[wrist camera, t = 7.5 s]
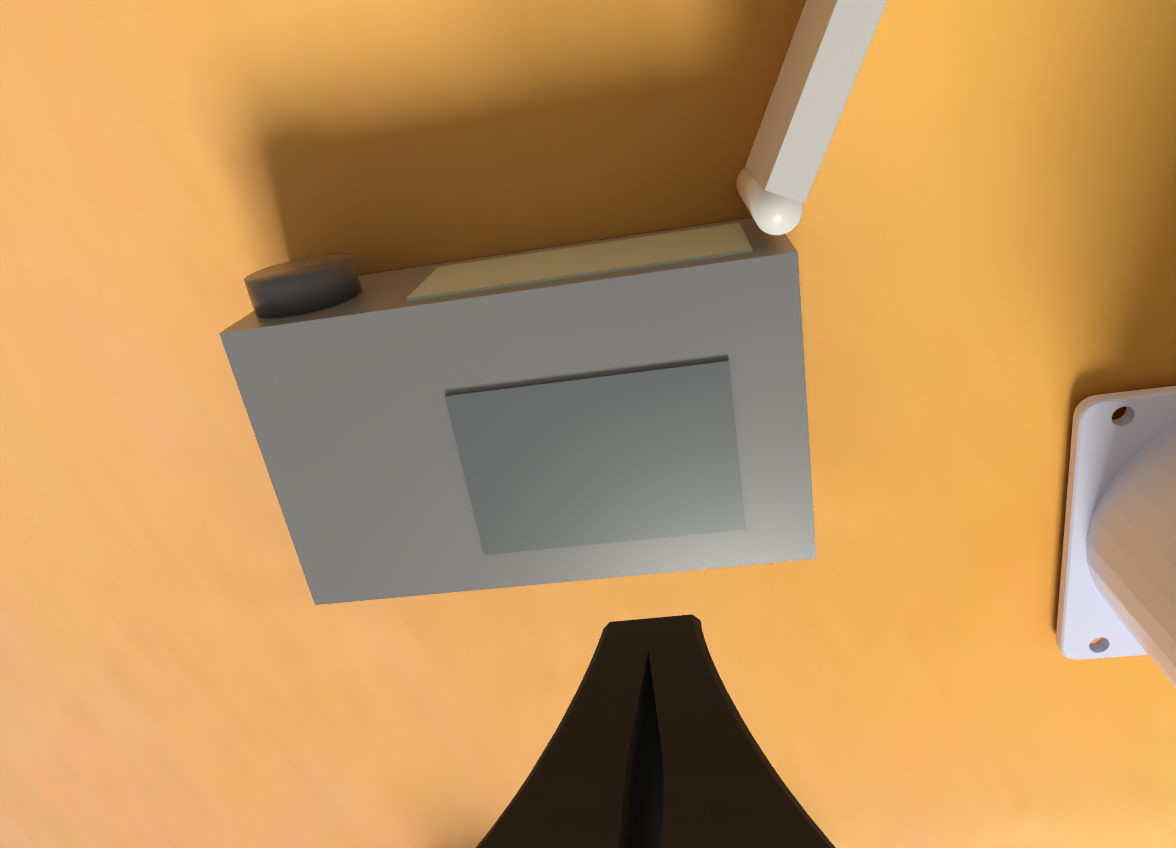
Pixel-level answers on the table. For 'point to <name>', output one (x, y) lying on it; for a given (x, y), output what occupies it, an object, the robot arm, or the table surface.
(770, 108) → the side door
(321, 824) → the table surface
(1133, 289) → the table surface
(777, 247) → the camera body
